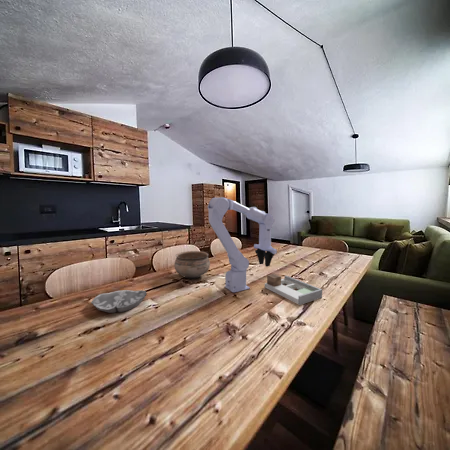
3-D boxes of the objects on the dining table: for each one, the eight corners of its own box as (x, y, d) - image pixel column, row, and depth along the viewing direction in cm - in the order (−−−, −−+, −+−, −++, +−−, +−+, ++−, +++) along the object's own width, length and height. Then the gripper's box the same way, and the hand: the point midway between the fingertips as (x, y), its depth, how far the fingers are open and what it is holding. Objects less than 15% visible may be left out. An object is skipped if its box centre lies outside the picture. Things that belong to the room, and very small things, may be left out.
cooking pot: (220, 279, 114) (220, 256, 113) (187, 288, 102) (187, 262, 101) (196, 268, 134) (195, 248, 132) (166, 274, 122) (166, 252, 121)
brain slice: (84, 320, 75) (83, 312, 75) (98, 299, 91) (98, 292, 91) (144, 313, 80) (144, 305, 80) (148, 294, 96) (147, 287, 96)
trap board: (299, 305, 86) (300, 296, 86) (264, 287, 104) (264, 280, 103) (321, 297, 93) (322, 289, 93) (285, 282, 111) (285, 275, 110)
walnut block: (273, 286, 100) (274, 278, 99) (267, 283, 103) (267, 275, 103) (280, 284, 102) (281, 276, 101) (274, 281, 106) (274, 273, 105)
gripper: (281, 239, 102) (281, 267, 104) (261, 235, 115) (261, 260, 116) (270, 240, 99) (269, 270, 100) (250, 236, 111) (250, 262, 112)
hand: (264, 265), depth 108 cm, fingers open, 4 cm apart
